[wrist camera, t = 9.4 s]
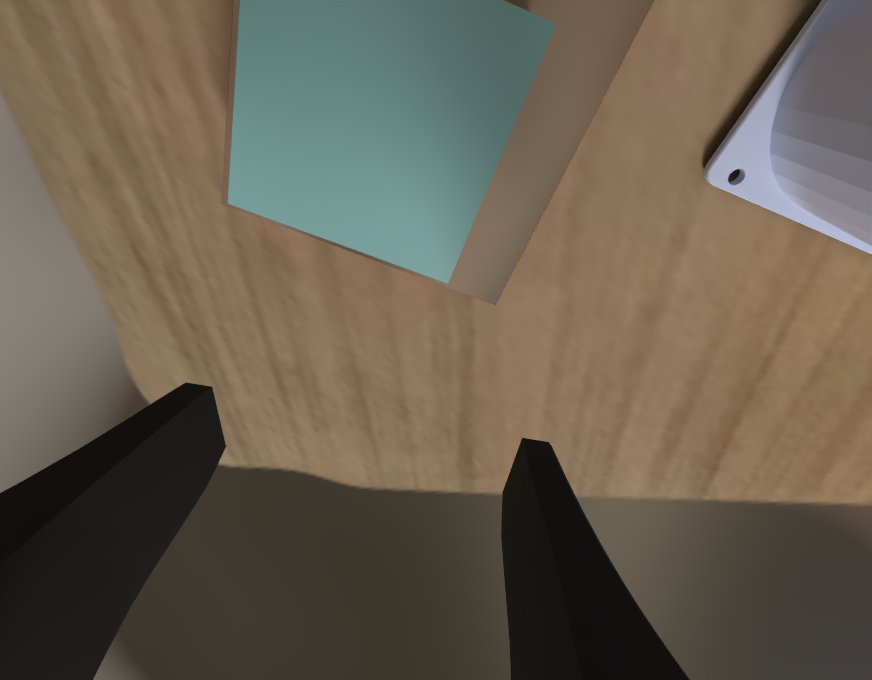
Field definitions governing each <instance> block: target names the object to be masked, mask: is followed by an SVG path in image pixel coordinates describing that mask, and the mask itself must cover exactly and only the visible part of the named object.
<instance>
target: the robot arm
mask: <svg viewBox="0 0 872 680" xmlns="http://www.w3.org/2000/svg"><path fill="white" fill-rule="evenodd" d="M737 169H739V170H740V173H739V176H738V177H737V178H736V179H735V180H734V181H731V182H728V177H729V175H730V173H732V172H733V171H734V170H737ZM704 178H705V180H706V181H707V182H709V183H710V184H712V185H714V186H716V187H718V188H720V189H723V190H725V191H727V192H730V193H732V194H734V195H737V196H739V197H741V198H743V199H746V200H748V201H750V202H753V203H755V204H757V205H760V206H762V207H764V208H766V209H769V210H771V211H773V212H776V213H778V214H780V215H783V216H785V217H787V218H789V219H792V220H794V221H796V222H799V223H801V224H803V225H806V226H808V227H810V228H812V229H815V230H817V231H819V232H822V233H824V234H826V235H829V236H831V237H833V238H835V239H838V240H840V241H842V242H845V243H847V244H849V245H852V246H854V247H856V248H858V249H861V250H863V251H865V252H868V253H870V254H872V0H822V1H821V2H820V4H819V5H818V6H817V8H816V9H815V11H814V12H813V13H812V15H811V16H810V18H809V19H808V21H807V22H806V23H805V25H804V26H803V28H802V29H801V31H800V32H799V33H798V35H797V36H796V38H795V39H794V40H793V42H792V43H791V45H790V46H789V48H788V49H787V50H786V52H785V53H784V55H783V56H782V58H781V59H780V60H779V62H778V63H777V65H776V66H775V67H774V69H773V70H772V72H771V73H770V75H769V76H768V77H767V79H766V80H765V82H764V83H763V85H762V86H761V87H760V89H759V90H758V92H757V93H756V94H755V96H754V97H753V99H752V100H751V102H750V103H749V104H748V106H747V107H746V109H745V110H744V112H743V113H742V114H741V116H740V117H739V119H738V120H737V121H736V123H735V124H734V126H733V127H732V129H731V130H730V131H729V133H728V134H727V136H726V137H725V139H724V140H723V141H722V143H721V144H720V146H719V147H718V148H717V150H716V151H715V153H714V154H713V156H712V157H711V158H710V160H709V161H708V163H707V164H706V166H705V168H704ZM225 447H226V445H225V441H224V436H223V432H222V428H221V423H220V419H219V415H218V410H217V406H216V402H215V398H214V393H213V389H212V387H210V386H204V385H197V384H191V383H185V384H183V385H181V386H180V387H178V388H176V389H175V390H173V391H171V392H170V393H168V394H166V395H165V396H163V397H162V398H160V399H158V400H157V401H155V402H154V403H152V404H151V405H149V406H147V407H146V408H144V409H143V410H141V411H139V412H138V413H137V414H135V415H133V416H132V417H130V418H128V419H127V420H125V421H124V422H122V423H120V424H119V425H117V426H115V427H114V428H112V429H111V430H109V431H107V432H106V433H104V434H103V435H101V436H99V437H98V438H96V439H95V440H93V441H91V442H90V443H88V444H86V445H85V446H83V447H81V448H80V449H78V450H76V451H74V452H73V453H71V454H69V455H68V456H66V457H64V458H63V459H60V460H59V461H57V462H55V463H53V464H52V465H50V466H48V467H47V468H45V469H43V470H41V471H40V472H38V473H36V474H34V475H32V476H31V477H29V478H27V479H26V480H24V481H22V482H20V483H19V484H17V485H15V486H13V487H11V488H9V489H7V490H5V491H3V492H2V493H0V680H93V678H94V676H95V674H96V672H97V670H98V668H99V666H100V664H101V662H102V660H103V658H104V656H105V654H106V653H107V650H108V649H109V647H110V644H111V643H112V641H113V639H114V637H115V636H116V634H117V632H118V630H119V628H120V626H121V624H122V622H123V620H124V619H125V617H126V614H127V613H128V611H129V609H130V607H131V605H132V604H133V602H134V600H135V599H136V597H137V595H138V593H139V592H140V590H141V588H142V586H143V585H144V583H145V582H146V580H147V579H148V577H149V575H150V574H151V573H152V571H153V569H154V568H155V566H156V565H157V563H158V562H159V560H160V558H161V557H162V555H163V554H164V552H165V551H166V549H167V548H168V546H169V545H170V543H171V542H172V540H173V539H174V537H175V535H176V534H177V532H178V531H179V529H180V528H181V526H182V524H183V523H184V522H185V520H186V518H187V517H188V515H189V514H190V512H191V511H192V509H193V507H194V506H195V504H196V503H197V501H198V499H199V498H200V496H201V495H202V493H203V492H204V490H205V488H206V487H207V485H208V483H209V481H210V479H211V477H212V475H213V473H214V471H215V469H216V467H217V465H218V462H219V460H220V458H221V456H222V454H223V452H224V449H225ZM501 537H502V551H503V565H504V577H505V589H506V602H507V614H508V626H509V639H510V660H511V680H690V679H689V678H688V677H687V675H686V674H685V672H684V671H683V670H682V668H681V667H680V666H679V664H678V663H677V662H676V660H675V659H674V657H673V656H672V655H671V653H670V652H669V650H668V649H667V648H666V646H665V645H664V643H663V642H662V640H661V639H660V637H659V636H658V635H657V633H656V632H655V630H654V629H653V627H652V626H651V624H650V623H649V621H648V620H647V618H646V617H645V615H644V614H643V612H642V611H641V609H640V608H639V606H638V605H637V603H636V602H635V600H634V598H633V597H632V595H631V594H630V592H629V591H628V589H627V587H626V586H625V584H624V582H623V581H622V579H621V578H620V576H619V574H618V572H617V571H616V569H615V567H614V566H613V564H612V562H611V561H610V559H609V557H608V556H607V554H606V552H605V551H604V549H603V547H602V545H601V543H600V542H599V540H598V538H597V536H596V534H595V532H594V531H593V529H592V527H591V525H590V523H589V521H588V520H587V518H586V516H585V514H584V512H583V510H582V509H581V506H580V505H579V502H578V501H577V498H576V496H575V494H574V492H573V490H572V488H571V486H570V484H569V482H568V480H567V478H566V476H565V474H564V472H563V470H562V468H561V465H560V463H559V461H558V459H557V457H556V455H555V452H554V450H553V448H552V446H551V445H550V443H549V442H544V441H538V440H532V439H526V438H522V440H521V443H520V446H519V448H518V451H517V454H516V457H515V460H514V462H513V465H512V468H511V471H510V473H509V476H508V479H507V482H506V485H505V487H504V490H503V500H502V533H501Z"/></svg>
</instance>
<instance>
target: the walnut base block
mask: <svg viewBox="0 0 872 680" xmlns="http://www.w3.org/2000/svg"><path fill="white" fill-rule="evenodd" d="M504 1H507V2H509V3H511V4H513V5H515V6H518V7H520V8H522V9H524V10H527V11H529V12H531V13H533V14H535V15H538V16H540V17H542V18H544V19H546V20H549V21H551V22H553V23H555V24H556V26H555V28H554V31H553V33H552V36H551V38H550V40H549V43H548V45H547V48H546V50H545V52H544V55H543V57H542V60H541V62H540V64H539V67H538V69H537V72H536V74H535V76H534V79H533V81H532V84H531V86H530V88H529V91H528V93H527V96H526V98H525V100H524V103H523V105H522V108H521V110H520V112H519V115H518V117H517V120H516V122H515V124H514V127H513V129H512V132H511V134H510V136H509V139H508V141H507V144H506V146H505V148H504V151H503V153H502V156H501V158H500V160H499V163H498V165H497V168H496V170H495V172H494V175H493V177H492V180H491V182H490V184H489V187H488V189H487V191H486V194H485V196H484V199H483V201H482V203H481V206H480V208H479V211H478V213H477V215H476V218H475V220H474V223H473V225H472V227H471V230H470V232H469V235H468V237H467V239H466V242H465V244H464V247H463V249H462V251H461V254H460V256H459V259H458V261H457V263H456V266H455V268H454V271H453V273H452V275H451V278H450V280H449V283H448V284H447V283H444V282H442V281H439V280H436V279H433V278H431V277H428V276H425V275H422V274H420V273H417V272H414V271H411V270H409V269H406V268H403V267H401V266H398V265H395V264H392V263H390V262H387V261H384V260H381V259H379V258H376V257H373V256H370V255H368V254H365V253H362V252H359V251H357V250H354V249H351V248H348V247H346V246H343V245H340V244H337V243H335V242H332V241H329V240H326V239H324V238H321V237H318V236H315V235H313V234H310V233H307V232H304V231H302V230H299V229H296V228H293V227H291V226H288V225H285V224H282V223H280V222H277V221H274V220H271V219H269V218H266V217H263V216H260V215H258V214H255V213H252V212H249V211H247V210H244V209H241V208H238V207H236V206H233V205H230V204H228V191H229V175H230V158H231V142H232V125H233V109H234V92H235V76H236V59H237V43H238V26H239V10H240V0H234V1H233V18H232V35H231V51H230V68H229V85H228V101H227V118H226V135H225V152H224V168H223V185H222V202H221V204H224V205H227V206H229V207H232V208H235V209H238V210H240V211H243V212H246V213H248V214H251V215H254V216H256V217H259V218H262V219H264V220H267V221H270V222H273V223H275V224H278V225H281V226H283V227H286V228H289V229H291V230H294V231H297V232H300V233H302V234H305V235H308V236H310V237H313V238H316V239H318V240H321V241H324V242H326V243H329V244H332V245H335V246H337V247H340V248H343V249H345V250H348V251H351V252H353V253H356V254H359V255H362V256H364V257H367V258H370V259H372V260H375V261H378V262H380V263H383V264H386V265H388V266H391V267H394V268H397V269H399V270H402V271H405V272H407V273H410V274H413V275H415V276H418V277H421V278H424V279H426V280H429V281H432V282H434V283H437V284H440V285H442V286H445V287H448V288H450V289H453V290H456V291H459V292H461V293H464V294H467V295H469V296H472V297H475V298H477V299H480V300H483V301H486V302H488V303H491V304H494V305H496V303H497V301H498V300H499V298H500V296H501V294H502V292H503V290H504V288H505V286H506V284H507V282H508V280H509V278H510V276H511V275H512V273H513V271H514V269H515V267H516V265H517V263H518V261H519V259H520V257H521V255H522V253H523V252H524V250H525V248H526V246H527V244H528V242H529V240H530V238H531V236H532V234H533V232H534V230H535V228H536V227H537V225H538V223H539V221H540V219H541V217H542V215H543V213H544V211H545V209H546V207H547V205H548V203H549V202H550V200H551V198H552V196H553V194H554V192H555V190H556V188H557V186H558V184H559V182H560V180H561V178H562V177H563V175H564V173H565V171H566V169H567V167H568V165H569V163H570V161H571V159H572V157H573V155H574V153H575V152H576V150H577V148H578V146H579V144H580V142H581V140H582V138H583V136H584V134H585V132H586V130H587V129H588V127H589V125H590V123H591V121H592V119H593V117H594V115H595V113H596V111H597V109H598V107H599V105H600V104H601V102H602V100H603V98H604V96H605V94H606V92H607V90H608V88H609V86H610V84H611V82H612V80H613V79H614V77H615V75H616V73H617V71H618V69H619V67H620V65H621V63H622V61H623V59H624V57H625V55H626V54H627V52H628V50H629V48H630V46H631V44H632V42H633V40H634V38H635V36H636V34H637V32H638V30H639V29H640V27H641V25H642V23H643V21H644V19H645V17H646V15H647V13H648V11H649V9H650V7H651V6H652V4H653V2H654V0H504Z"/></svg>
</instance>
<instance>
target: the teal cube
mask: <svg viewBox="0 0 872 680" xmlns="http://www.w3.org/2000/svg"><path fill="white" fill-rule="evenodd" d="M555 26H556V24H555V23H553V22H551V21H549V20H546V19H544V18H542V17H540V16H538V15H535V14H533V13H531V12H529V11H527V10H524V9H522V8H520V7H518V6H515V5H513V4H511V3H509V2H507V1H504V0H240V10H239V26H238V43H237V59H236V76H235V92H234V109H233V125H232V142H231V158H230V175H229V191H228V204H230V205H233V206H236V207H238V208H241V209H244V210H247V211H249V212H252V213H255V214H258V215H260V216H263V217H266V218H269V219H271V220H274V221H277V222H280V223H282V224H285V225H288V226H291V227H293V228H296V229H299V230H302V231H304V232H307V233H310V234H313V235H315V236H318V237H321V238H324V239H326V240H329V241H332V242H335V243H337V244H340V245H343V246H346V247H348V248H351V249H354V250H357V251H359V252H362V253H365V254H368V255H370V256H373V257H376V258H379V259H381V260H384V261H387V262H390V263H392V264H395V265H398V266H401V267H403V268H406V269H409V270H411V271H414V272H417V273H420V274H422V275H425V276H428V277H431V278H433V279H436V280H439V281H442V282H444V283H447V284H448V283H449V280H450V278H451V275H452V273H453V271H454V268H455V266H456V263H457V261H458V259H459V256H460V254H461V251H462V249H463V247H464V244H465V242H466V239H467V237H468V235H469V232H470V230H471V227H472V225H473V223H474V220H475V218H476V215H477V213H478V211H479V208H480V206H481V203H482V201H483V199H484V196H485V194H486V191H487V189H488V187H489V184H490V182H491V180H492V177H493V175H494V172H495V170H496V168H497V165H498V163H499V160H500V158H501V156H502V153H503V151H504V148H505V146H506V144H507V141H508V139H509V136H510V134H511V132H512V129H513V127H514V124H515V122H516V120H517V117H518V115H519V112H520V110H521V108H522V105H523V103H524V100H525V98H526V96H527V93H528V91H529V88H530V86H531V84H532V81H533V79H534V76H535V74H536V72H537V69H538V67H539V64H540V62H541V60H542V57H543V55H544V52H545V50H546V48H547V45H548V43H549V40H550V38H551V36H552V33H553V31H554V28H555Z"/></svg>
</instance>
